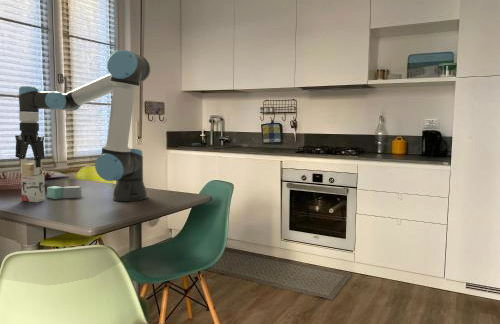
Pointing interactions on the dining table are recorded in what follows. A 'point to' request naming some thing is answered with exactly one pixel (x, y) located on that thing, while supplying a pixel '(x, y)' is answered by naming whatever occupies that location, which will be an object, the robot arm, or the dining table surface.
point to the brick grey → (72, 192)
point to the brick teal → (55, 192)
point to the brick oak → (29, 169)
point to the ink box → (33, 188)
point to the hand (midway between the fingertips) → (30, 174)
